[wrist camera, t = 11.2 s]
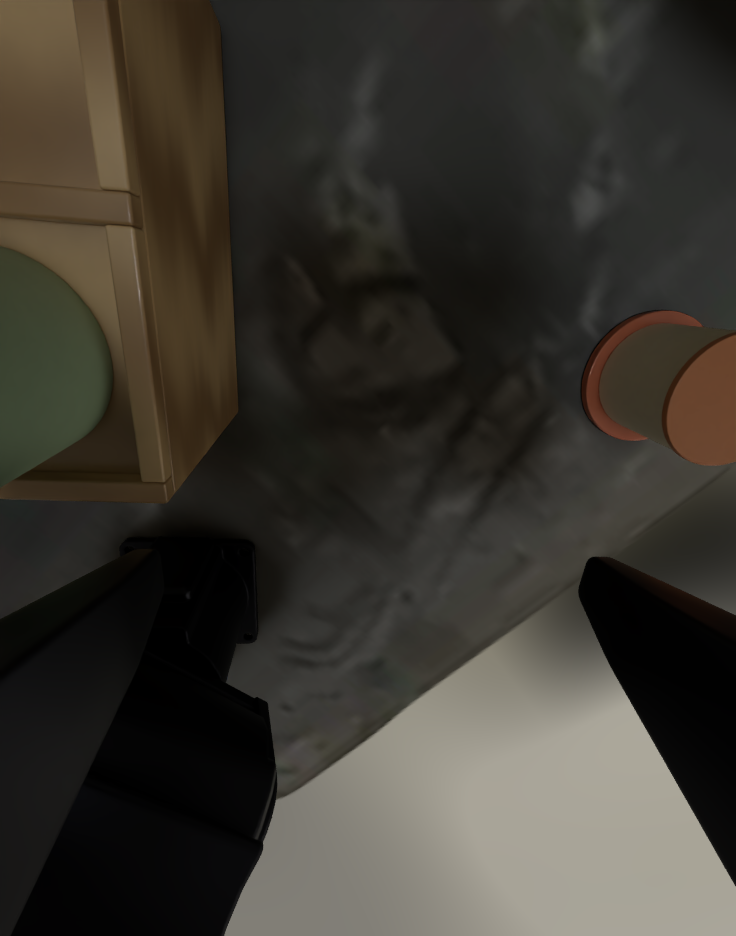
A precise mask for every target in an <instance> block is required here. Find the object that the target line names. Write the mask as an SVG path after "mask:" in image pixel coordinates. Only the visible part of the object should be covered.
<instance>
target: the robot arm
mask: <svg viewBox="0 0 736 936" xmlns="http://www.w3.org/2000/svg"><path fill="white" fill-rule="evenodd" d="M128 546H131V547H133V548H134V549H135V550H131V549H129V547H128ZM242 548H245V549H247V550H248V551H249V552H242V551H241V549H242ZM119 551H120V557H119V558H117V559H115V560H113V561H112V562H110V563H108V564H106V565H104V566H102V567H100V568H98V569H96V570H94V571H92V572H90V573H88V574H87V575H85V576H83V577H81V578H79V579H77V580H75V581H73V582H71V583H69V584H67V585H65V586H63V587H61V588H60V589H58V590H56V591H54V592H52V593H50V594H48V595H46V596H44V597H42V598H40V599H38V600H36V601H35V602H33V603H31V604H29V605H27V606H25V607H23V608H21V609H19V610H17V611H15V612H13V613H11V614H10V615H8V616H6V617H4V618H2V619H0V936H224V934H225V931H226V928H227V926H228V923H229V921H230V918H231V916H232V914H233V911H234V909H235V906H236V904H237V901H238V899H239V897H240V894H241V892H242V890H243V888H244V886H245V884H246V882H247V880H248V878H249V876H250V874H251V872H252V871H253V869H254V867H255V865H256V863H257V862H258V860H259V858H260V856H261V854H262V851H263V840H264V838H265V836H266V833H267V830H268V827H269V824H270V821H271V818H272V814H273V810H274V806H275V801H276V793H277V772H276V764H275V757H274V749H273V741H272V733H271V725H270V718H269V710H268V703H267V702H266V701H264V700H262V699H260V698H258V697H256V698H253V697H251V696H249V695H247V694H245V693H243V692H241V691H240V690H238V689H236V688H234V687H232V686H230V685H228V684H227V683H226V680H227V676H228V673H229V669H230V665H231V662H232V658H233V654H234V651H235V647H236V644H249V643H253V642H255V640H256V639H257V635H258V612H257V584H256V557H255V546H254V544H253V543H252V542H250V541H249V540H230V539H210V538H208V537H162V536H161V537H158V538H127V539H126V540H125V541H124V542H123V543H122V544H121V546H120V548H119ZM578 593H579V598H580V601H581V603H582V605H583V607H584V610H585V612H586V614H587V616H588V619H589V621H590V623H591V625H592V628H593V630H594V632H595V634H596V637H597V639H598V641H599V643H600V646H601V648H602V650H603V652H604V654H605V656H606V658H607V660H608V662H609V664H610V666H611V668H612V670H613V672H614V674H615V676H616V677H617V679H618V681H619V683H620V684H621V686H622V688H623V690H624V691H625V693H626V695H627V696H628V698H629V700H630V702H631V704H632V705H633V707H634V709H635V710H636V712H637V714H638V716H639V718H640V719H641V721H642V723H643V725H644V726H645V728H646V730H647V732H648V733H649V735H650V737H651V739H652V740H653V742H654V744H655V746H656V747H657V749H658V751H659V753H660V755H661V756H662V758H663V760H664V762H665V763H666V765H667V767H668V769H669V770H670V772H671V774H672V776H673V777H674V779H675V781H676V783H677V784H678V786H679V788H680V790H681V791H682V793H683V795H684V796H685V798H686V800H687V802H688V804H689V805H690V807H691V809H692V811H693V812H694V814H695V816H696V818H697V819H698V821H699V823H700V824H701V827H702V828H703V830H704V832H705V833H706V835H707V837H708V839H709V841H710V842H711V844H712V846H713V847H714V849H715V851H716V853H717V855H718V856H719V858H720V860H721V862H722V863H723V865H724V867H725V869H726V870H727V872H728V874H729V876H730V877H731V879H732V881H733V882H734V884H735V886H736V615H734V614H732V613H729V612H727V611H725V610H723V609H721V608H719V607H716V606H714V605H712V604H710V603H708V602H706V601H704V600H701V599H699V598H697V597H695V596H693V595H691V594H688V593H686V592H684V591H682V590H680V589H678V588H675V587H673V586H671V585H669V584H667V583H665V582H662V581H660V580H658V579H656V578H654V577H651V576H650V575H647V574H645V573H643V572H641V571H639V570H637V569H634V568H632V567H630V566H628V565H626V564H624V563H621V562H619V561H617V560H615V559H613V558H610V557H591V558H590V559H588V561H587V563H586V566H585V569H584V572H583V575H582V578H581V582H580V585H579V590H578ZM246 633H250V634H251V635H247V634H246Z"/></svg>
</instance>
